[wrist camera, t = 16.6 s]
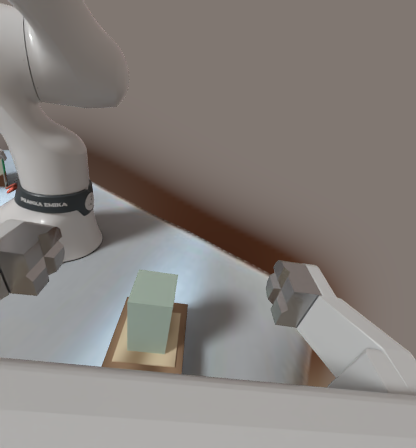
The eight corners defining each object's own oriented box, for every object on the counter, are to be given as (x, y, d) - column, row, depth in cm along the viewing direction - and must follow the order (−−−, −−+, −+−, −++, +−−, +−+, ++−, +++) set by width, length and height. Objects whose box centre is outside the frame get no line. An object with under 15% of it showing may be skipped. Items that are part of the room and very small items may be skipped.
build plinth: (99, 392, 29) (97, 377, 27) (127, 311, 39) (127, 296, 37) (176, 398, 30) (180, 385, 28) (184, 318, 40) (187, 303, 38)
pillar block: (127, 350, 30) (127, 301, 25) (137, 317, 34) (139, 269, 29) (164, 354, 30) (172, 307, 25) (170, 320, 35) (177, 274, 29)
